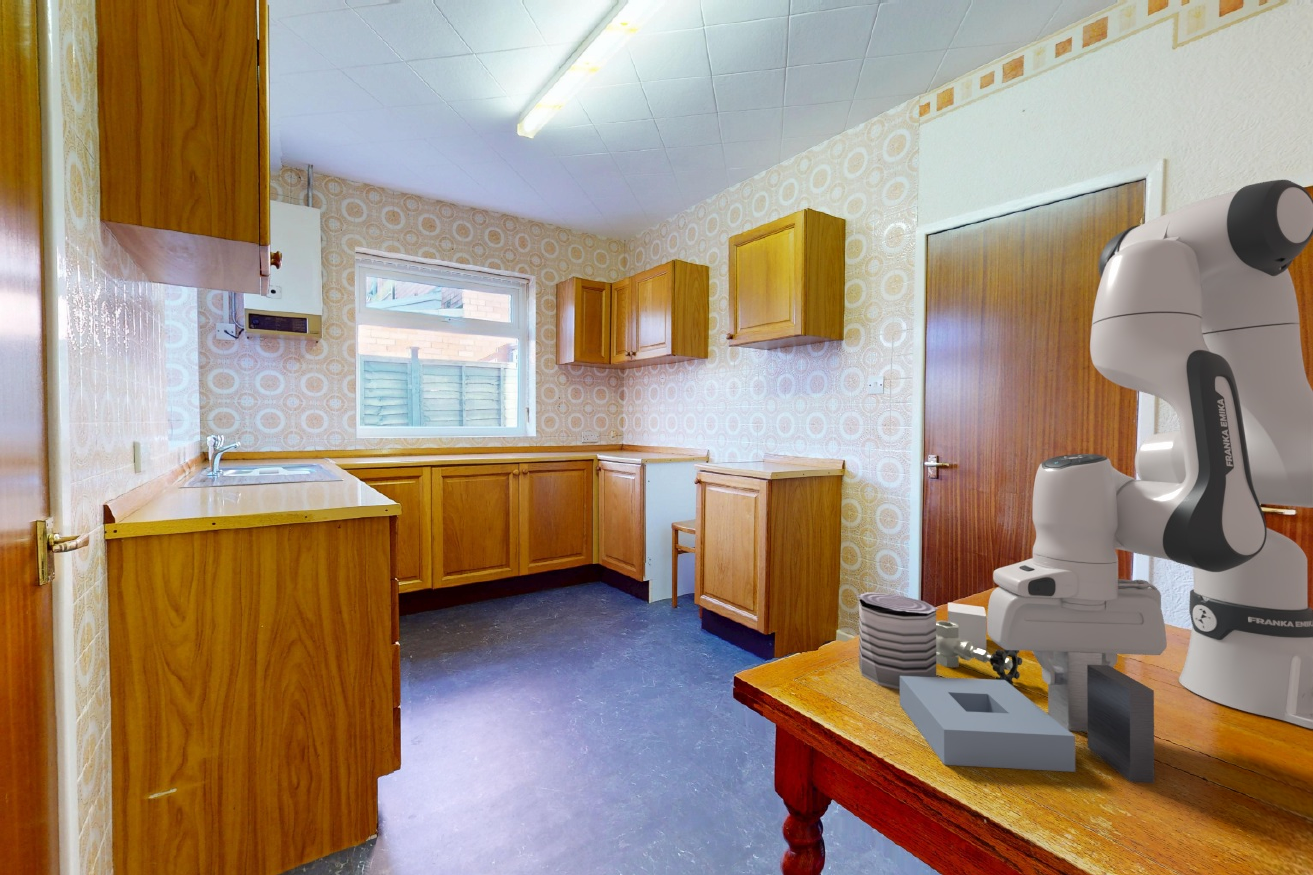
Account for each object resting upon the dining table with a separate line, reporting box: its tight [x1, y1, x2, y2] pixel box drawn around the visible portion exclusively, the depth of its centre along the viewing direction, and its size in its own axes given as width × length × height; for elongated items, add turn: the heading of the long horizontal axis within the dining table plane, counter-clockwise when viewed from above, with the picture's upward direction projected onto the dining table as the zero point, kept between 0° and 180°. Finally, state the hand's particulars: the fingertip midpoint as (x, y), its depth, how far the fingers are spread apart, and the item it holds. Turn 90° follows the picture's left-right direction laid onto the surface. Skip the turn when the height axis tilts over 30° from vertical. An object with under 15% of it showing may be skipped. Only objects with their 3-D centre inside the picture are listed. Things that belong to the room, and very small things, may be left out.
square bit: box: [1047, 651, 1102, 733], centre depth 70 cm, size 4×4×10 cm
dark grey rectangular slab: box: [1087, 665, 1155, 784], centre depth 61 cm, size 2×6×10 cm, turn 175°
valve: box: [936, 620, 1023, 686], centre depth 86 cm, size 7×7×12 cm
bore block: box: [899, 676, 1076, 773], centre depth 67 cm, size 14×14×4 cm
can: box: [856, 591, 939, 691], centre depth 85 cm, size 11×11×12 cm
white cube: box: [947, 602, 987, 650], centre depth 99 cm, size 6×6×6 cm
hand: (1074, 683), depth 70 cm, fingers closed on square bit, 4 cm apart
